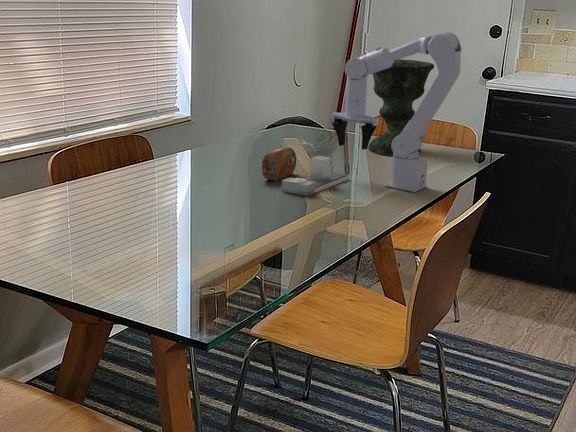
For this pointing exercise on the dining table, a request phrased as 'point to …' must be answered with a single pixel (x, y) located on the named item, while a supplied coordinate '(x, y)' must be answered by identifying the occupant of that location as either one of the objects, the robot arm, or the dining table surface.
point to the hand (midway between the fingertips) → (352, 147)
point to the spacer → (320, 168)
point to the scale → (311, 184)
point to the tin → (278, 164)
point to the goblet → (398, 98)
